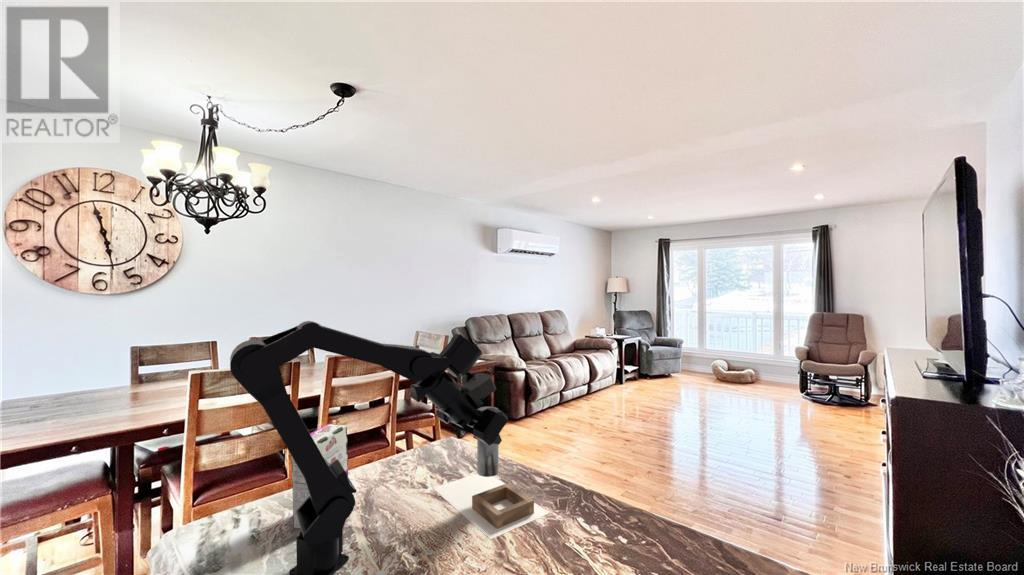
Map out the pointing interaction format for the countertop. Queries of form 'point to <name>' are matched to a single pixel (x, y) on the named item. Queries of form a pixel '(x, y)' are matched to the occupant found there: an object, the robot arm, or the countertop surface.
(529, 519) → the board
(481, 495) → the square wooden frame
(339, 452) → the candy bar box
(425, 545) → the countertop surface
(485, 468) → the grey tall rounded cylinder
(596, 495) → the countertop surface
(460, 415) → the robot arm
